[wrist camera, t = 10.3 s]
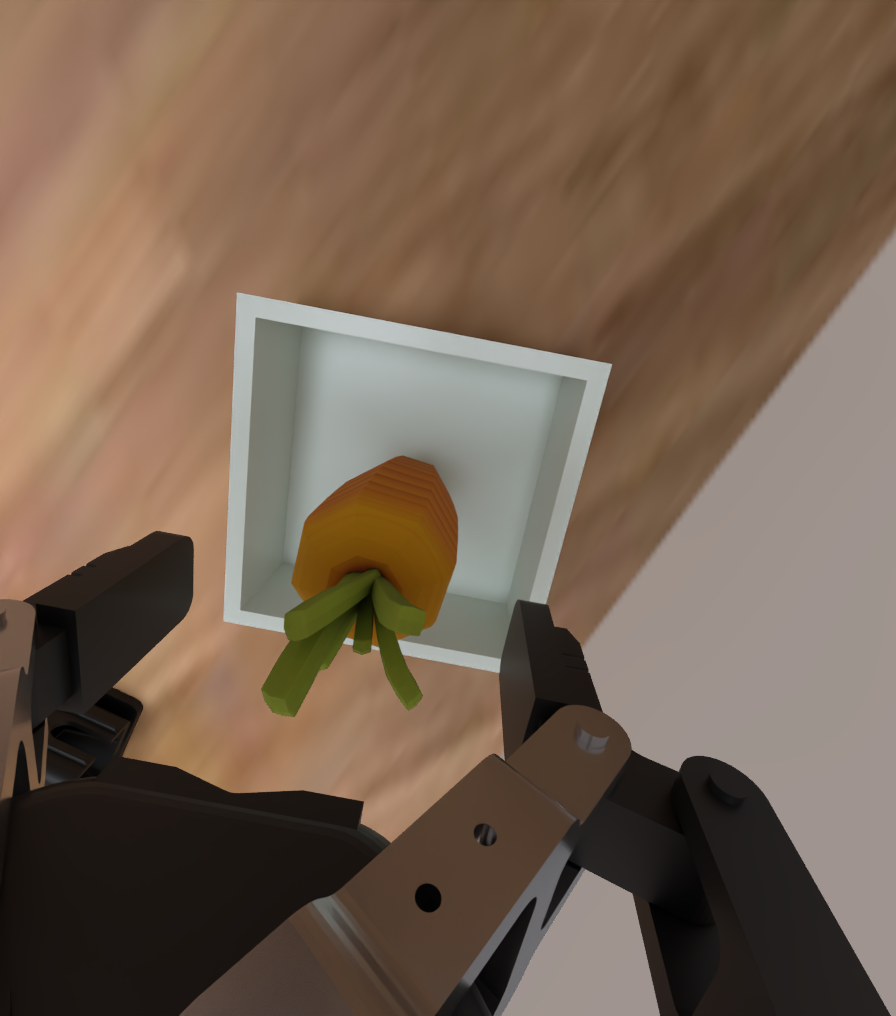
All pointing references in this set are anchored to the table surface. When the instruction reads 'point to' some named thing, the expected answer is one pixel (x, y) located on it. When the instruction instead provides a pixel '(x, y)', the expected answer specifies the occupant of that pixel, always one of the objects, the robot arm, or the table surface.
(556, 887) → the robot arm
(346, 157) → the table surface
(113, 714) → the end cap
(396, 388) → the bin
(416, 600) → the carrot
